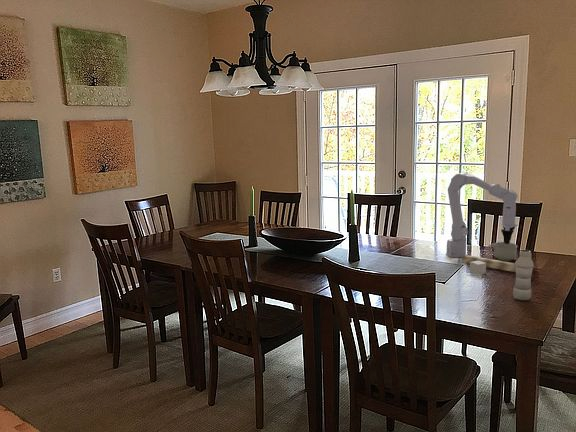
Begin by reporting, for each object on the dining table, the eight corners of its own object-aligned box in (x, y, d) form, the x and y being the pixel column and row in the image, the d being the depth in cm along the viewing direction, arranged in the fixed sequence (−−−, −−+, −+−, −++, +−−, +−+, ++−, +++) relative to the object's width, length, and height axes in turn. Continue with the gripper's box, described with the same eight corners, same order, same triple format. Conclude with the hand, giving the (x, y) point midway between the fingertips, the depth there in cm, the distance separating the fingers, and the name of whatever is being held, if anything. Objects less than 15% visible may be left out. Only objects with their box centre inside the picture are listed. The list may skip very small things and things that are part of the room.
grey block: (477, 274, 222) (477, 264, 221) (469, 272, 227) (470, 261, 226) (485, 273, 224) (486, 263, 223) (477, 270, 229) (478, 260, 228)
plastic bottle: (509, 297, 193) (512, 249, 189) (525, 296, 194) (528, 248, 190) (518, 302, 187) (521, 253, 183) (534, 301, 187) (538, 252, 184)
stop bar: (461, 262, 242) (461, 255, 242) (463, 261, 244) (464, 254, 244) (515, 272, 225) (515, 264, 224) (517, 270, 226) (517, 263, 226)
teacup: (516, 257, 248) (517, 242, 247) (516, 263, 239) (517, 247, 237) (487, 255, 254) (488, 240, 253) (486, 260, 244) (487, 245, 243)
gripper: (517, 218, 229) (515, 246, 231) (518, 213, 241) (517, 239, 244) (501, 217, 232) (499, 244, 234) (503, 212, 244) (502, 238, 247)
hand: (507, 242), depth 239 cm, fingers open, 7 cm apart
